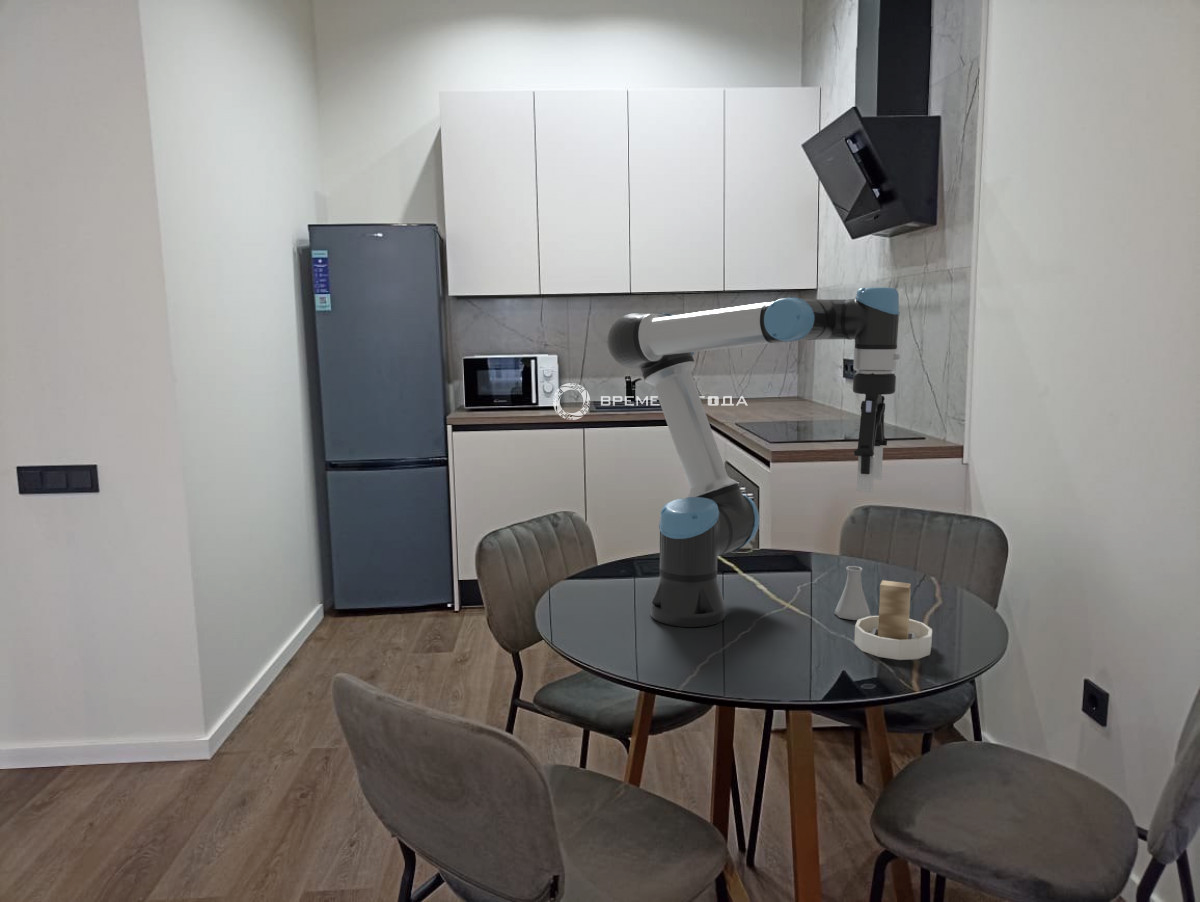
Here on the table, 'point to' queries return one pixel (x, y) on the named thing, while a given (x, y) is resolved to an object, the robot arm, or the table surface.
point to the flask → (853, 597)
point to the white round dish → (893, 640)
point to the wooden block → (894, 610)
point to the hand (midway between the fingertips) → (869, 485)
